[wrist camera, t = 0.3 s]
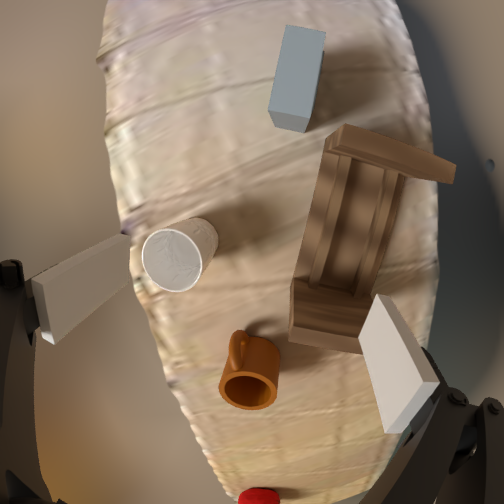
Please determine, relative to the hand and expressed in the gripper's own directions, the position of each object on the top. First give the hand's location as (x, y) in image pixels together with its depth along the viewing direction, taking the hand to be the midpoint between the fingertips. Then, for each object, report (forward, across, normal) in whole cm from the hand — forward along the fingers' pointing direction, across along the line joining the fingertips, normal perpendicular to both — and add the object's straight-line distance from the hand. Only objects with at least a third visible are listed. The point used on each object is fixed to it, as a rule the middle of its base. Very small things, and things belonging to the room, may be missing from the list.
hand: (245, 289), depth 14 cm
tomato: (+26, +17, -85) cm, 90 cm away
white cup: (+26, -10, -7) cm, 29 cm away
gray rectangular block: (+26, 0, +16) cm, 31 cm away
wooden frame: (+26, +11, 0) cm, 28 cm away
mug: (+26, +2, -24) cm, 36 cm away
